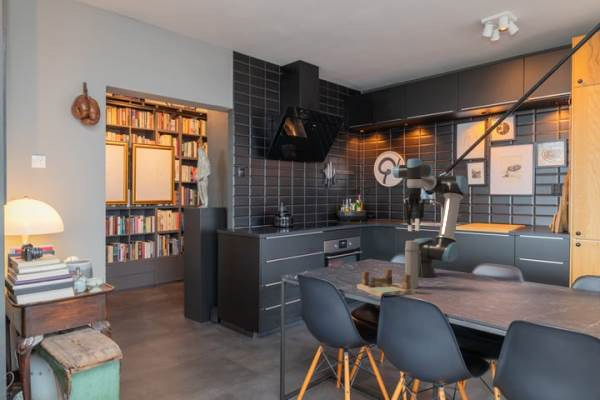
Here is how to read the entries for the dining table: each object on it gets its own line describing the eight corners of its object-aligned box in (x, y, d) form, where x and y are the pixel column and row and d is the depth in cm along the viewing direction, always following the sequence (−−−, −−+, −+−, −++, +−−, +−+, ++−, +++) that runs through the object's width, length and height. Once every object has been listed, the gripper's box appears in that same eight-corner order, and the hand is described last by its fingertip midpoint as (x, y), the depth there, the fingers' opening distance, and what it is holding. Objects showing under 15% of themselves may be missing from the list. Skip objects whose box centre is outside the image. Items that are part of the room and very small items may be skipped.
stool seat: (389, 284, 217) (389, 268, 217) (414, 293, 198) (415, 275, 198) (357, 287, 208) (357, 271, 208) (380, 297, 189) (381, 278, 189)
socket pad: (386, 286, 203) (386, 286, 203) (399, 291, 194) (399, 290, 194) (370, 288, 199) (370, 287, 199) (382, 293, 190) (382, 292, 190)
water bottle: (402, 288, 209) (403, 241, 209) (406, 285, 216) (406, 240, 216) (420, 290, 205) (421, 242, 204) (423, 287, 212) (423, 241, 211)
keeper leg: (368, 285, 204) (368, 277, 204) (389, 284, 208) (389, 275, 208) (371, 286, 201) (371, 278, 201) (392, 285, 205) (392, 276, 205)
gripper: (421, 187, 217) (421, 229, 217) (396, 187, 209) (396, 230, 210) (431, 187, 210) (431, 231, 210) (405, 187, 203) (405, 232, 203)
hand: (413, 230), depth 210 cm, fingers open, 4 cm apart
